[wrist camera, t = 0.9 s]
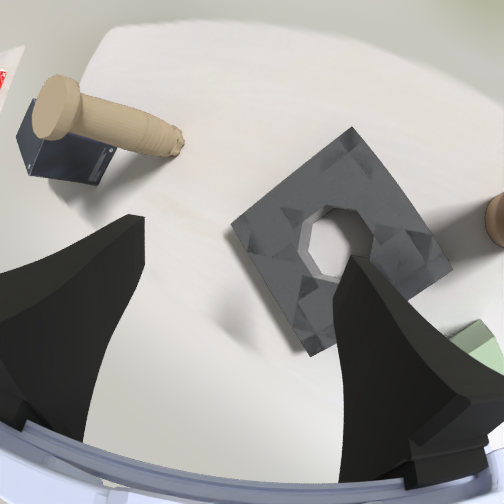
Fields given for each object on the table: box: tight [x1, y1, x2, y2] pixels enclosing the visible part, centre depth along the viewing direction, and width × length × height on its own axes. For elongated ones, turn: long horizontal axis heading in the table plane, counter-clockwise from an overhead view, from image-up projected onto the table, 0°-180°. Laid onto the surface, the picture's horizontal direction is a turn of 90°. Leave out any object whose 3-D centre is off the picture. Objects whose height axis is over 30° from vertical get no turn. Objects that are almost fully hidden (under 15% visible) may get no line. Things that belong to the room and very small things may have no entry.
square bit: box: [449, 319, 504, 375], centre depth 17 cm, size 4×4×5 cm
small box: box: [16, 98, 117, 186], centre depth 34 cm, size 11×6×10 cm, turn 49°
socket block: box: [231, 127, 453, 357], centre depth 23 cm, size 12×12×2 cm
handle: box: [32, 74, 185, 157], centre depth 25 cm, size 5×6×15 cm
